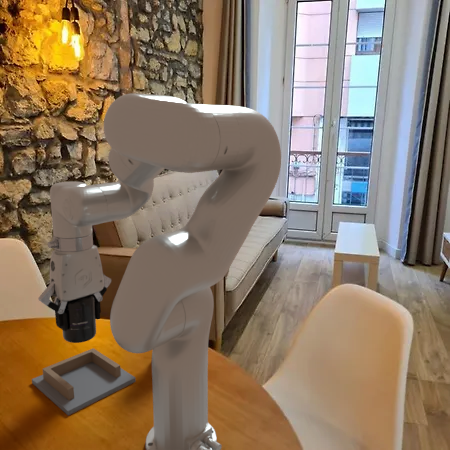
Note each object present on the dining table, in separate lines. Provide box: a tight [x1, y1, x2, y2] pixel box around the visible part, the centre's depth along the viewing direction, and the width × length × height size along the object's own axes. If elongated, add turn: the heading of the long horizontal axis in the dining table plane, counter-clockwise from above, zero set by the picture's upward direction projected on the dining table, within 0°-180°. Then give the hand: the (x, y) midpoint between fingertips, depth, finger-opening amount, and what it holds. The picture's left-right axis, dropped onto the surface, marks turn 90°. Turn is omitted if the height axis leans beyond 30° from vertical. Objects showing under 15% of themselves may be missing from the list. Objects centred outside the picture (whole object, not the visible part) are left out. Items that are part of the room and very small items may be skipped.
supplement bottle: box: [62, 295, 97, 344], centre depth 93 cm, size 7×7×12 cm
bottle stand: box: [31, 348, 137, 416], centre depth 96 cm, size 16×16×4 cm
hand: (79, 322), depth 93 cm, fingers closed on supplement bottle, 6 cm apart
